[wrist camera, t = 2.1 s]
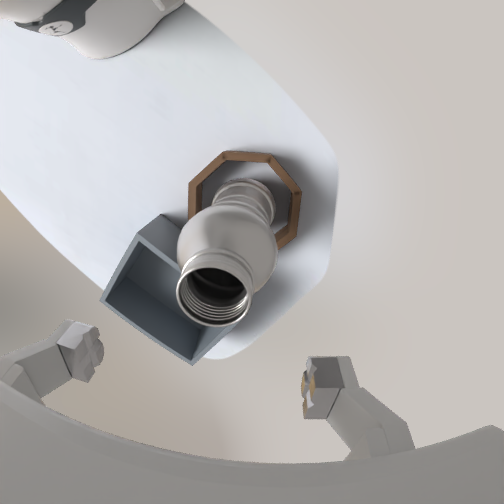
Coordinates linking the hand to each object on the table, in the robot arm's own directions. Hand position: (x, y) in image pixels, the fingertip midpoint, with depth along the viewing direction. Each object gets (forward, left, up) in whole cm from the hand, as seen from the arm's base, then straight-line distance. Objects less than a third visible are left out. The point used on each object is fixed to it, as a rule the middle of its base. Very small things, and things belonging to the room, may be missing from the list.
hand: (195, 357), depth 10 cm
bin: (+10, -8, -24) cm, 27 cm away
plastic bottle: (0, 0, -24) cm, 24 cm away
